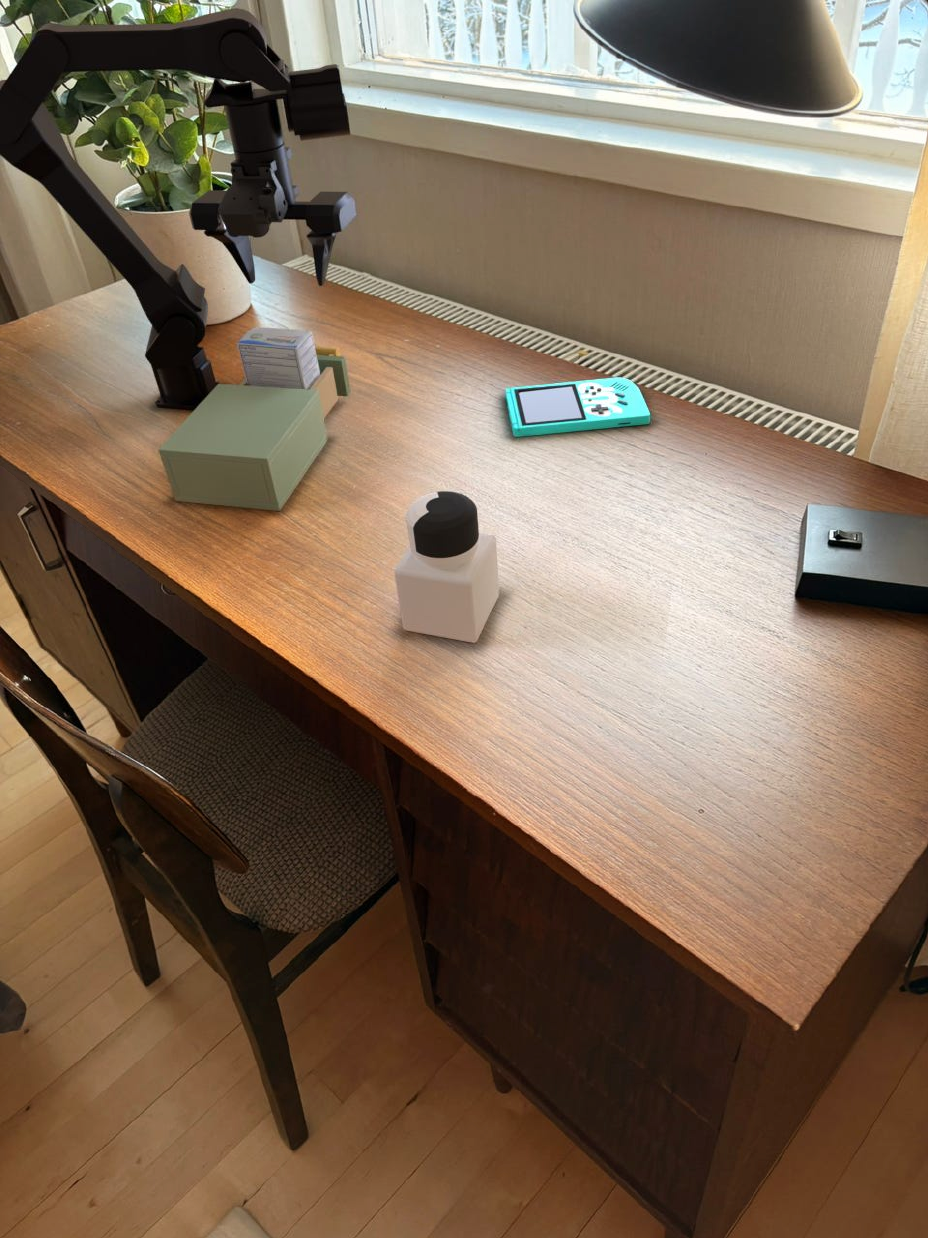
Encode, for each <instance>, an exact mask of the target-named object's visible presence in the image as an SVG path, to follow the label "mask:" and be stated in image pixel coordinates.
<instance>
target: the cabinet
mask: <svg viewBox="0 0 928 1238" xmlns="http://www.w3.org/2000/svg"><path fill="white" fill-rule="evenodd" d="M325 424H326V423H325V418H323V413H322V408H321V403H320V397H319V392H318V390H308V389H292V388H277V387H261V386H246V385H238V384H231V383H230V384H229V383H220V384H218V385H217V386H216V387H215V388H214V389H213V390H212V391H211V392H210V394H209V395H208V396H207V397H206V398H205V399H204V400H203V401H202V402H201V403H200V405H199V406H198V407H197V408H196V409H193V411H192V412H191V413H190V415H188V416H187V417H186V419H185V420H184V421H182V423H181V424H180V425H179V427H177V428H176V430H175V431H174V432H173V433H172V434H171V435H170V436H169V437H168V438H167V439H166V440H165V442H164V443H163V444H162V445H161V446H160V447H159V448H158V454H159V455H160V459H161V461H162V465H163V468H164V470H165V471H164V472H165V474H166V477H167V480H168V483H169V486H170V489H171V491H172V495H173V498H174V501H175V502H183V503H193V504H203V505H214V506H224V507H233V508H245V509H254V510H264V511H265V510H266V511H272V512H273V511H274V512H275V511H276V512H280V511H281V510H282V509H283V507H284V505H285V504H286V503H287V501H288V500H289V498H290V496H291V495H292V494H293V492H294V491H295V489H296V488H297V486H298V485H299V484H300V482H301V480H303V478H304V476H305V475H306V473H307V472H308V471H309V469H310V468H311V466H312V465H313V463H314V461H315V460H316V458H317V457H318V455H319V454H320V453H321V452H322V450H323V448H324V447H325V446H326V444H327V442H328V441H329V440H328V434H327V428H326V425H325Z"/></svg>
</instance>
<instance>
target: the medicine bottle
mask: <svg viewBox="0 0 928 1238" xmlns="http://www.w3.org/2000/svg"><path fill="white" fill-rule="evenodd" d="M405 519H406V528H407V535H408V543H409V546H408V547H407V549H406V551H405V552H404V554H403V556H401V559H400V560H399V562H398V564H397V565H396V566H395V568H394V580H395V586H396V592H397V598H398V606H399V611H400V617H401V623H402V625H401V626H402V629H403V630H404V631H406V632H407V631H408V632H412V633H418V634H423V635H428V636H434V637H440V638H446V639H451V640H454V641H455V640H456V641H461V642H468V643H473V644H476V643H477V642H478V640H479V638H480V636H481V634H482V632H483V629H484V628H485V626H486V624H487V622H488V619H489V617H490V615H491V612H492V611H493V609H494V607H495V605H496V602H497V600H498V599H499V596H500V581H499V564H498V550H497V548H498V547H497V536H495V534H492V533H485V532H480V530H479V528H480V527H479V515H478V507H477V505H476V504H475V502H474V501H473V500H472V499H471V498H469V497H468V496H467V495H464V494H463V493H460V492H456V491H451V490H449V491H448V490H441V491H434V492H429V493H426V494H424V495H422V496H419V497H418V498H417V499H415V500H414V501H413V502H412V503H411V504H410V505H409V507H408V508H407V510H406V513H405Z"/></svg>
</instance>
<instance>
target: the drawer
mask: <svg viewBox="0 0 928 1238" xmlns="http://www.w3.org/2000/svg"><path fill="white" fill-rule="evenodd" d="M315 351H316V356H317V360H318V366H319V370H320V376H319V378H318V379H317V380H316V381H315V383H314V384H313V385H312V387H311V388H310V389H309V390H318V392H319V397H320V403H321V408H322V413H323V418H324V419H326V417H327V416H328V414H329V412H330V411H331V410H332V408H333V407H334V406H335V404H337V401H338V400H339V397H349V395H350V393H351V386H350V380H349V375H348V374H349V373H348V368H347V362H346V357H345V356H344V355H343V356H341V350H340V348H339V347H331V346H330V347H327V346H315ZM237 385H246V386H248V385H247V381H246V377H245V376H244V377H243V379H241V381H239V383H238V384H237Z"/></svg>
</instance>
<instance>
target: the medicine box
mask: <svg viewBox="0 0 928 1238" xmlns="http://www.w3.org/2000/svg"><path fill="white" fill-rule="evenodd" d="M236 346H237V349H238V354H239V357H240V361H241V365H242V369H243V373H244V377H246V381H247V385H248V386H261V387H277V388H292V389H308V390H309V389H310V388H311V387H312V385H313V384H314V383H315V381H316V380H317V379H318V378H319V376H320V370H319V366H318V360H317V356H316V351H315V347H316V346H315V341H314V336H313V332H312V331H310V330H302V329H292V328H291V329H290V328H277V327H262V326H253V327H252V328H251V329H250V330H249V331H247V332H246V333H245V334H244V335H243V336H242V337H241V338H240V339H239V340H238V341H237V343H236Z"/></svg>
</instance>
